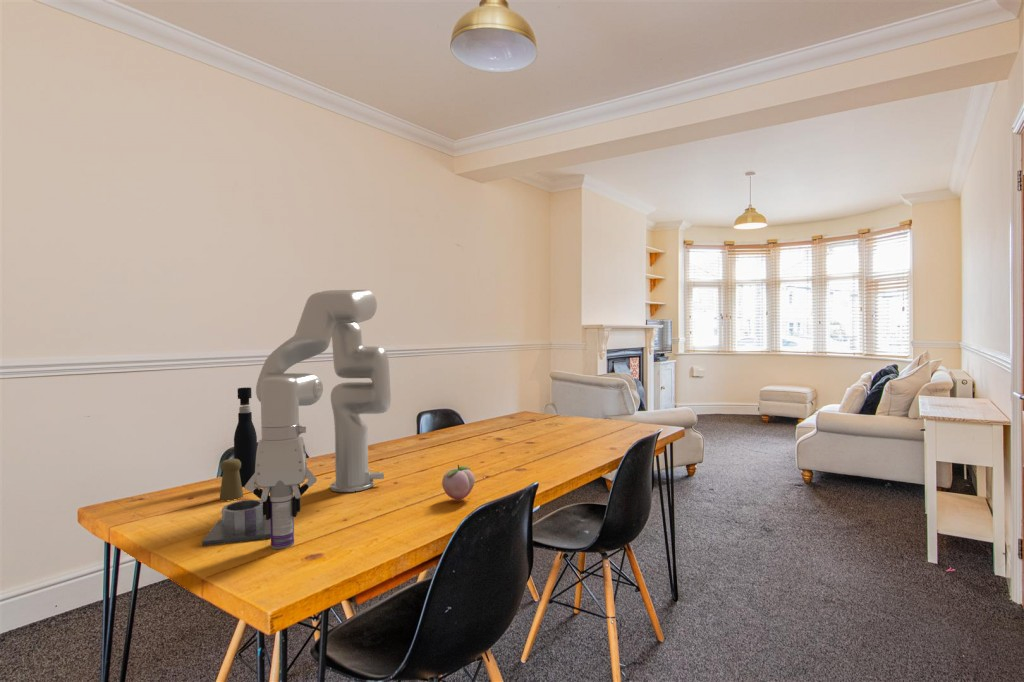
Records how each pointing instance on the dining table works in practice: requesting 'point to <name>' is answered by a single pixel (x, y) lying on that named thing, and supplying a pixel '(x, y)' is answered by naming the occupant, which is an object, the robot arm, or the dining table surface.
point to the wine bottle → (245, 438)
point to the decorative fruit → (458, 482)
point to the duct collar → (240, 524)
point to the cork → (231, 480)
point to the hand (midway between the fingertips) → (282, 515)
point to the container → (281, 516)
